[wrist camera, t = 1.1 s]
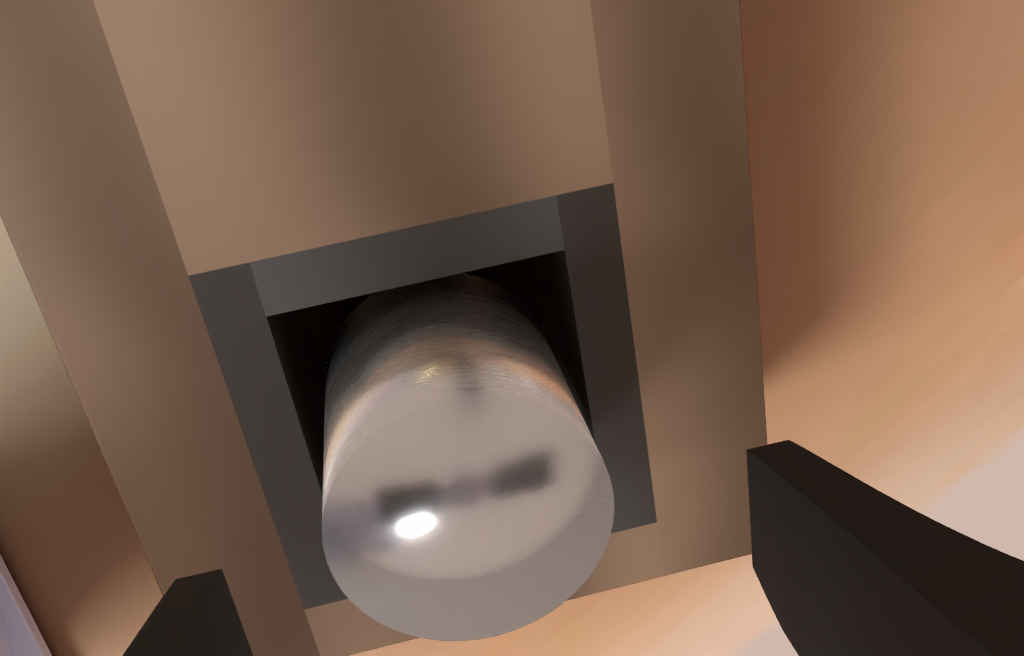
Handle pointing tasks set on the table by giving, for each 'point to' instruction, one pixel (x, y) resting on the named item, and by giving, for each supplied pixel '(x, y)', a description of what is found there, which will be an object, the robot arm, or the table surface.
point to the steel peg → (456, 464)
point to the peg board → (382, 252)
